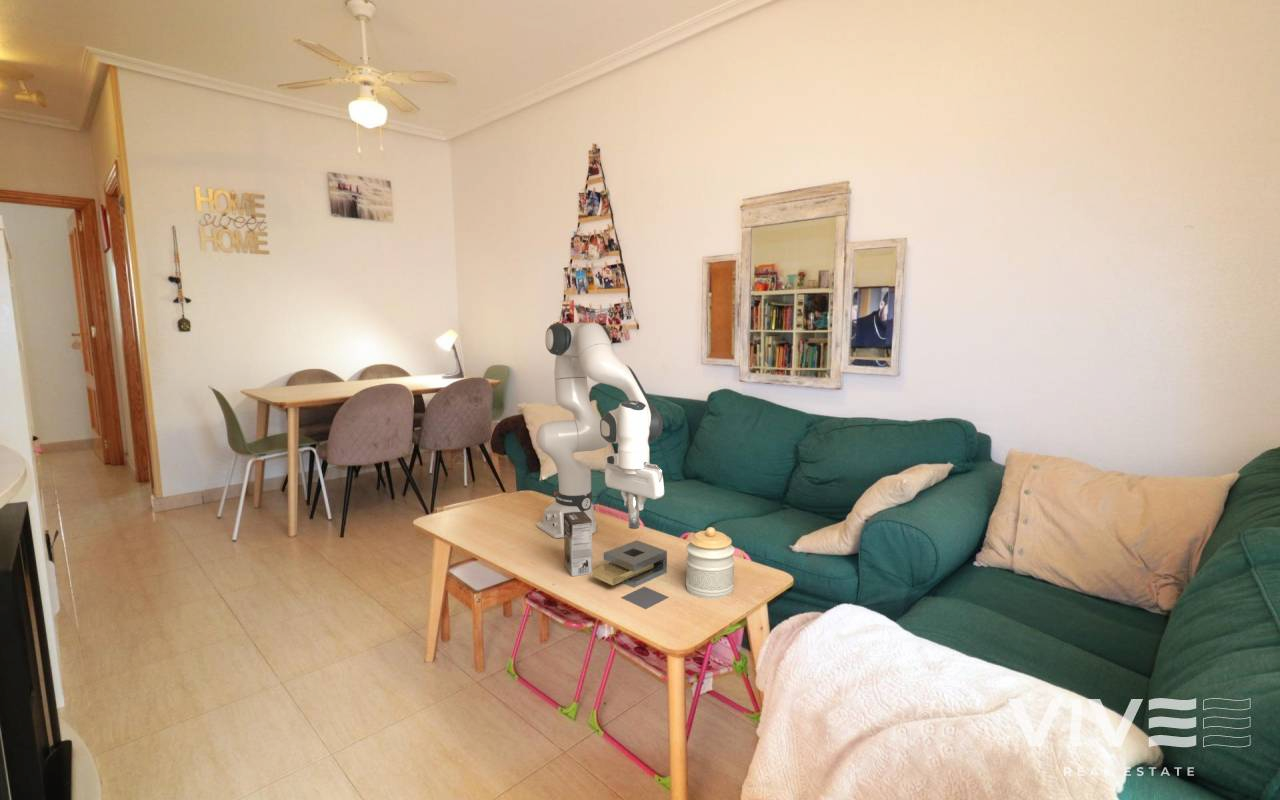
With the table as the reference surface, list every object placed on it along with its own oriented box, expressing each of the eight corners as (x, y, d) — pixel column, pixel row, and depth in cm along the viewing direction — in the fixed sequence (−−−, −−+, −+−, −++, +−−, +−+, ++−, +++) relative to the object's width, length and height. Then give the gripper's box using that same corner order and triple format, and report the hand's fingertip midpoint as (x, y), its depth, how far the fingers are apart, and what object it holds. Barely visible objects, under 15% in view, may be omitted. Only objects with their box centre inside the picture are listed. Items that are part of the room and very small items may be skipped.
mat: (620, 599, 154) (620, 597, 154) (644, 588, 160) (644, 586, 160) (645, 611, 148) (645, 609, 148) (669, 598, 154) (669, 597, 154)
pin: (633, 524, 168) (633, 490, 167) (641, 527, 166) (641, 492, 165) (626, 527, 166) (626, 492, 164) (633, 529, 164) (633, 494, 162)
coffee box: (563, 564, 176) (562, 512, 173) (584, 561, 178) (584, 510, 176) (571, 577, 167) (570, 522, 165) (593, 573, 169) (592, 519, 167)
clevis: (588, 582, 163) (587, 558, 162) (636, 562, 177) (636, 540, 176) (618, 596, 155) (617, 571, 154) (666, 574, 169) (666, 550, 168)
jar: (702, 575, 168) (703, 516, 166) (742, 588, 160) (744, 526, 158) (676, 591, 158) (676, 528, 156) (717, 606, 150) (718, 540, 148)
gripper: (669, 463, 158) (669, 513, 160) (616, 452, 173) (617, 498, 174) (653, 467, 154) (653, 518, 156) (600, 456, 168) (601, 503, 170)
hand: (633, 508), depth 165 cm, fingers closed on pin, 3 cm apart
